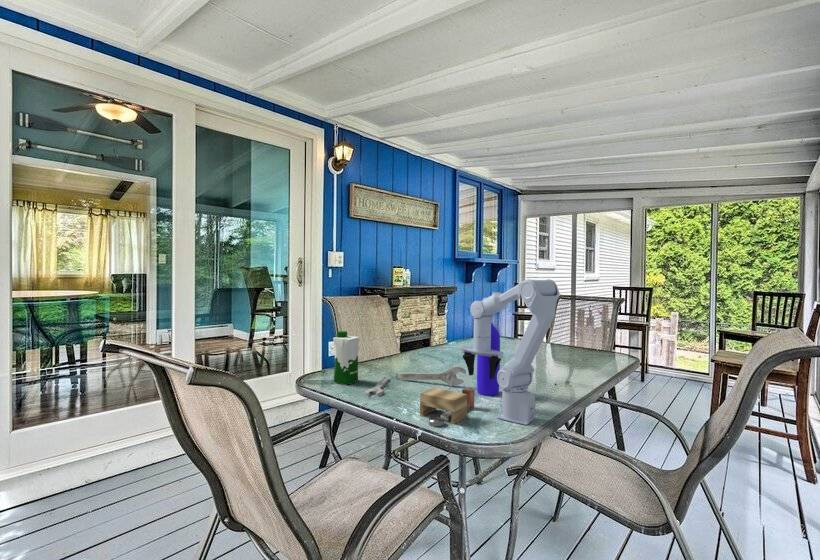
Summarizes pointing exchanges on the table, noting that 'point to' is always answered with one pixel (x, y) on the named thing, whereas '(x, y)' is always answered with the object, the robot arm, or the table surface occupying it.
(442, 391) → the wooden bridge block
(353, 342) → the milk carton
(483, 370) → the bottle
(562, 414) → the table surface
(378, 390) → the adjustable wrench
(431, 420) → the token
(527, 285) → the robot arm
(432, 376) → the wrench
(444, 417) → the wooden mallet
